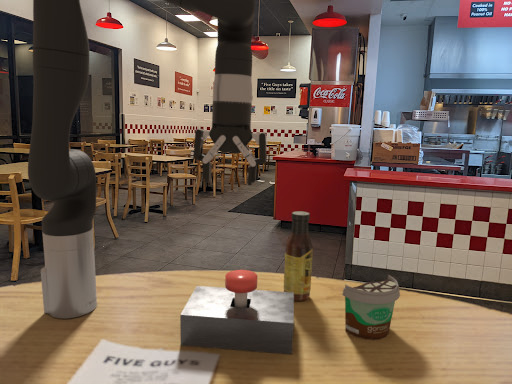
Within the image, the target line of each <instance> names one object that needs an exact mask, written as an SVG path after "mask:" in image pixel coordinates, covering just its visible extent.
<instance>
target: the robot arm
mask: <svg viewBox="0 0 512 384" xmlns="http://www.w3.org/2000/svg"><path fill="white" fill-rule="evenodd" d="M163 1H164V2H166V3H169V4H171V5H173V6H175V7H178V8H180V9H183V10H186V11H188V12H193V13H196V12H200V13H203V14H206V15H209V16H211V17H213V18H216V19H217V45H216V48H215V49H216V50H215V58H214V77H213V78H214V79H213V85H212V86H213V88H212V113H211V116H212V117H211V121H212V122H211V129H210V130H204V129H203V128H198V129H196V130H195V134H194V143H193V144H194V146H193V159H194V160H197V161H200V162H201V163H202V179H203V180H205V183H210V182H212V170H213V169H212V167H213V166H212V165H213V164H212V162H211V161H212V160H213V159H214V157H215V156H216V155H217V154H218V153H219V152H221V153H222V154H228V153H231V154H234V155H237V154H242V156H243V158H245V159H246V161H247V162H248V164H249V166H248V172H247V173H248V175H247V186H253V183H255V182H256V181H257V168H258V167H259V166H260V165H264V164H265V163H266V162H267V133H266V132H258V133H256V132H255V133H253V132H252V129H251V128H252V127H251V125H252V124H251V123H252V104H253V81H252V79H253V78H252V76H253V75H252V74H253V50H252V43H253V42H252V41H253V30H254V29H253V27H254V15H255V12H256V11H255V10H256V0H163ZM32 2H33V3H32V6H33V7H32V9H33V11H32V16H33V18H32V20H33V21H32V22H33V23H32V25H33V26H32V27H33V29H32V33H33V35H32V36H33V37H32V73H33V74H32V76H33V91H32V93H33V95H32V96H33V97H32V100H33V101H32V125H31V135H30V143H29V153H28V160H27V161H28V162H27V179H28V182H29V185H30V187H31V189H32V192H33V193H34V195H36V196H37V197H38V198H40V199H41V200H43V201H48V202H53V201H54V203H53V205H52V206H51V208H50V209H49V211H48V212H47V213H45V215H44V216H43V217H42V219H41V233H42V243H43V245H42V246H43V254H44V266H43V267H42V268H41V269H40V279H41V280H40V281H41V292H42V304H43V313H44V314H49V315H50V316H51V317H53V318H54V319H55V318H56V319H74V318H78V317H82V316H85V315H87V314H89V313H91V312H92V311H94V310H95V308H96V307H97V306H98V303H97V302H98V301H97V298H98V295H97V282H96V281H97V280H96V279H97V278H96V262H95V261H96V259H95V258H96V257H95V242H94V227H93V225H94V217H95V215H96V211H97V176H96V174H97V173H96V168H95V165H94V162H93V160H92V159H91V157H90V156H89V155H88V154H87V153H86V152H84V151H82V150H79V149H74V148H70V135H71V128H72V124H73V121H74V118H75V115H76V114H77V111H78V109H79V107H80V105H81V103H82V102H83V99H84V97H85V95H86V91H87V89H88V85H89V81H90V80H89V79H90V43H89V36H88V32H87V27H86V24H85V23H86V22H85V19H84V15H83V11H82V7H81V2H80V0H32ZM208 137H209V138H210V139H211V141H212V142H213V145H212V147H211V148H209V150H208V152H207V153H206V154H203V151H204V143H205V142H204V141H207V139H208ZM252 140H254V141H255V144H256V145H258V152H259V153H258V158H256V157H255V156H254V154H253V153H252V150H251V149H250V147H249V146H248V145H249V143H250V142H251V141H252Z"/></svg>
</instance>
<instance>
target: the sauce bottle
mask: <svg viewBox="0 0 512 384" xmlns="http://www.w3.org/2000/svg"><path fill="white" fill-rule="evenodd" d="M310 215H311V214H310V212H307V211H293V212H291V228H290V229H291V233H290V234H289V235H288V236H287V239H286V242H285V253H284V270H283V292H294V302H301V301H306V300H308V299H309V297H310V294H311V287H312V286H311V285H312V267H313V251H314V247H313V243H312V240H311V237H310V233H309V221H310V217H311V216H310Z"/></svg>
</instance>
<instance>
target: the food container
mask: <svg viewBox="0 0 512 384" xmlns="http://www.w3.org/2000/svg"><path fill="white" fill-rule="evenodd" d="M342 296H343V297H344V303H345V304H344V306H345V307H344V308H345V309H344V310H345V311H344V312H345V313H344V314H345V316H344V317H345V318H344V319H345V320H344V321H345V324H344V325H345V327H344V328H345V329H344V330H345V332H346V333H348V334H349V335H351V336H353V337H356V338H359V339H363V340H371V341H374V340H383V339H384V338H386V337H387V336H388V335H389V333H390V329H391V324H392V318H393V313H394V308H395V302H396V301H397V300H399V298H400V296H401V292H400V286H399V283H398V281H397V279H395V278H394V277H392V276H391V275H389V274H388V275H387V279H384V280H381V281H369V282H365V283H362V284H360V285H358V286H354V287H352V286H349V285H348V284H344V287H343V291H342Z"/></svg>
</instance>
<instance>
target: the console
mask: <svg viewBox="0 0 512 384" xmlns="http://www.w3.org/2000/svg"><path fill="white" fill-rule="evenodd" d="M234 302H235V292H231V291H229V290H227V289H226V287H220V286H219V287H218V286H207V285H206V286H204V285H196V287H195V288H194V289H193V292H192V294H191V295H190V296H189V299H188V300H187V302H186V304H185V305H184V308H183V309H182V311H181V313H180V315H179V317H180V321H179V323H180V324H179V325H180V331H179V332H180V346H183V347H184V346H185V347H195V348H196V347H197V348H209V349H222V350H232V351H233V350H234V351H244V352H245V351H246V352H259V353H269V354H270V353H271V354H284V355H293V347H294V346H293V341H294V328H295V327H294V326H295V325H294V322H295V321H294V320H295V317H294V315H295V314H294V312H295V311H294V309H295V307H294V306H295V304H294V303H295V301H294V292H284V291H277V290H265V289H263V290H262V289H255V290H254V291H252V292H248V293H247V308H242V307H234Z"/></svg>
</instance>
